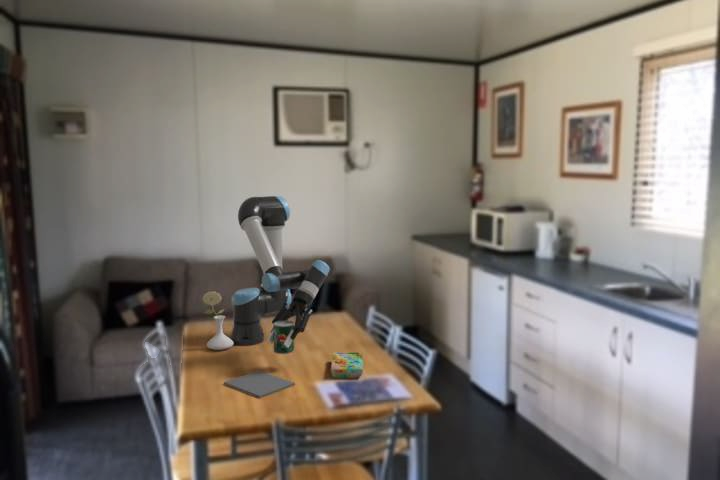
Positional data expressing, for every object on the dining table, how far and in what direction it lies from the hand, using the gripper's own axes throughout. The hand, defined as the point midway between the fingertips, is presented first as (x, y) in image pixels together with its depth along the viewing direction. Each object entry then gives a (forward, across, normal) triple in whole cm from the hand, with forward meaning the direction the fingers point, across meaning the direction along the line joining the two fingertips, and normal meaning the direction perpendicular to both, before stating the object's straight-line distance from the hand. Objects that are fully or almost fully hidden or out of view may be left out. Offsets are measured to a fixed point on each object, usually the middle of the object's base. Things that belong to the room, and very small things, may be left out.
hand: (277, 343), depth 222 cm
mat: (+18, -5, +4) cm, 19 cm away
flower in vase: (+4, +41, -13) cm, 43 cm away
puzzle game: (-4, -21, -19) cm, 29 cm away
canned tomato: (0, 0, -5) cm, 5 cm away
